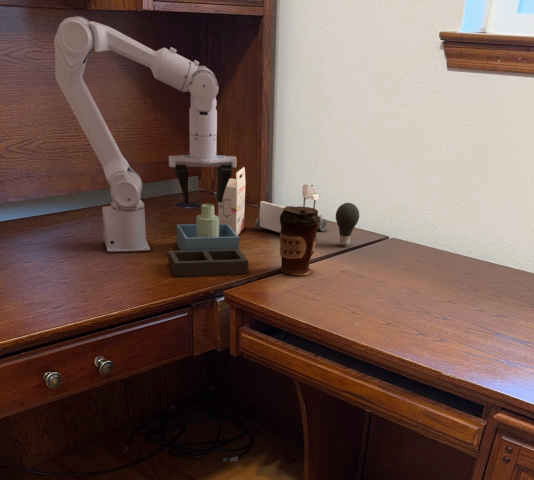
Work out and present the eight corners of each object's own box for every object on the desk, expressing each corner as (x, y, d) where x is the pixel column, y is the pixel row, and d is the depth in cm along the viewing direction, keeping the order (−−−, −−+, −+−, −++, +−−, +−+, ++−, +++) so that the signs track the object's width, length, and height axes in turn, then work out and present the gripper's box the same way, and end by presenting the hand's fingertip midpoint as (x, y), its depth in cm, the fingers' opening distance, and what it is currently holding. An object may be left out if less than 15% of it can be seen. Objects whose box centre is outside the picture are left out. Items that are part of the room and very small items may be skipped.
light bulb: (358, 245, 164) (364, 202, 158) (350, 250, 160) (356, 207, 154) (336, 241, 166) (341, 198, 160) (329, 246, 161) (333, 203, 156)
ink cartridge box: (225, 226, 171) (226, 164, 162) (244, 228, 170) (246, 166, 162) (216, 235, 164) (217, 171, 156) (236, 237, 163) (238, 173, 155)
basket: (185, 259, 148) (185, 238, 145) (176, 244, 156) (176, 224, 154) (238, 257, 151) (239, 237, 148) (227, 242, 159) (228, 223, 157)
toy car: (301, 180, 175) (336, 188, 169) (298, 219, 181) (332, 228, 175) (255, 189, 164) (292, 198, 158) (254, 230, 169) (288, 240, 164)
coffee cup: (301, 281, 140) (307, 216, 133) (268, 272, 143) (271, 209, 136) (321, 270, 146) (327, 208, 139) (288, 262, 150) (293, 201, 142)
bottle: (199, 252, 151) (198, 208, 145) (194, 245, 155) (194, 202, 149) (220, 251, 152) (221, 207, 146) (216, 245, 156) (216, 202, 150)
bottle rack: (175, 276, 138) (174, 263, 136) (168, 263, 144) (168, 250, 143) (247, 273, 142) (248, 260, 140) (238, 261, 148) (238, 248, 147)
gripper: (172, 136, 136) (173, 206, 144) (241, 137, 140) (238, 205, 148) (166, 131, 141) (168, 198, 149) (232, 132, 145) (231, 198, 153)
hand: (202, 201), depth 149 cm, fingers open, 7 cm apart
